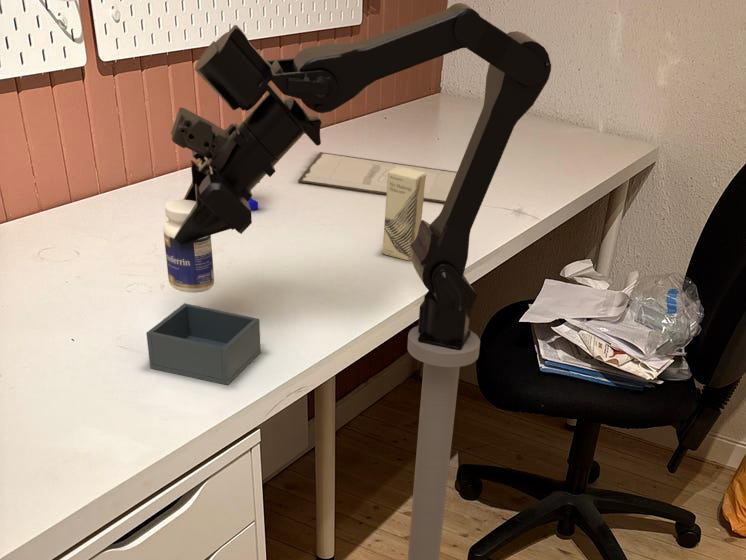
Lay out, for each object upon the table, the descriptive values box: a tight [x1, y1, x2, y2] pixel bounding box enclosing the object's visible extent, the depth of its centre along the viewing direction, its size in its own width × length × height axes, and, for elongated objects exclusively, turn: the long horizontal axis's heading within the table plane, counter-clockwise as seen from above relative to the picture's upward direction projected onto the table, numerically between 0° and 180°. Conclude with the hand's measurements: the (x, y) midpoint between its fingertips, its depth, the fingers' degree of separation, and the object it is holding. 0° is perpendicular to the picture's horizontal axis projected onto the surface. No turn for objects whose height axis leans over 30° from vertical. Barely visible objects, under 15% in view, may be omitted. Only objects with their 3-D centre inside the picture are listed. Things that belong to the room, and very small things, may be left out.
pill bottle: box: [163, 199, 215, 294], centre depth 121 cm, size 6×6×10 cm
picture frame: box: [297, 151, 457, 203], centre depth 189 cm, size 22×1×30 cm
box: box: [382, 166, 426, 261], centre depth 154 cm, size 5×4×13 cm
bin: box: [146, 302, 261, 386], centre depth 120 cm, size 10×10×5 cm
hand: (176, 233), depth 120 cm, fingers closed on pill bottle, 6 cm apart
